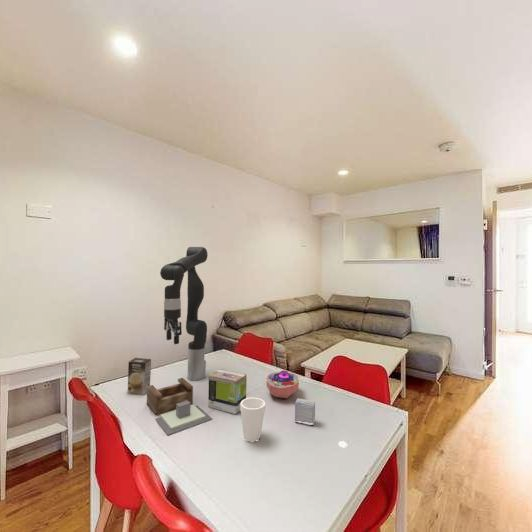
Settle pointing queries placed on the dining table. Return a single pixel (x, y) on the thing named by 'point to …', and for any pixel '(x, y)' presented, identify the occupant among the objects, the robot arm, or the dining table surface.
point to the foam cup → (252, 417)
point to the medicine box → (305, 410)
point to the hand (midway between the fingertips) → (172, 341)
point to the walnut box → (168, 397)
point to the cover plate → (184, 420)
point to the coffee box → (139, 376)
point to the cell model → (282, 384)
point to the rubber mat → (169, 432)
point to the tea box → (226, 390)
